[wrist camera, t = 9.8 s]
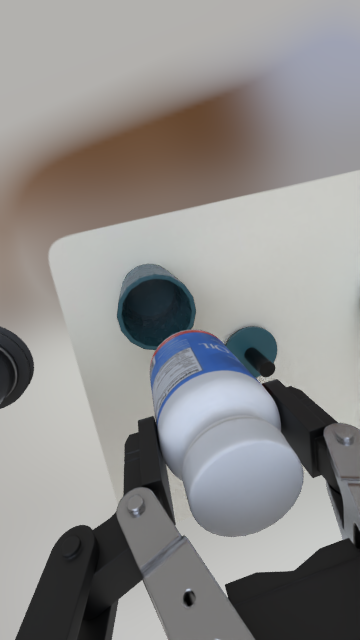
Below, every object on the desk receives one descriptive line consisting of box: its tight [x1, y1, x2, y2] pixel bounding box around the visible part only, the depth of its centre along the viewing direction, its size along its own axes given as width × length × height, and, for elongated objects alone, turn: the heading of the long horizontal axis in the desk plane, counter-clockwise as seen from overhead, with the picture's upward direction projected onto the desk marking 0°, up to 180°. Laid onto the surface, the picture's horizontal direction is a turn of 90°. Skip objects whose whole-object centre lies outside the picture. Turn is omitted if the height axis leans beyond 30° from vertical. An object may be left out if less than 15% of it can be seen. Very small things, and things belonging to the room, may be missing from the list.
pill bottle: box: [150, 330, 303, 537], centre depth 13 cm, size 6×5×10 cm
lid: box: [225, 326, 277, 378], centre depth 38 cm, size 8×8×6 cm
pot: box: [117, 264, 196, 350], centre depth 30 cm, size 7×7×12 cm
